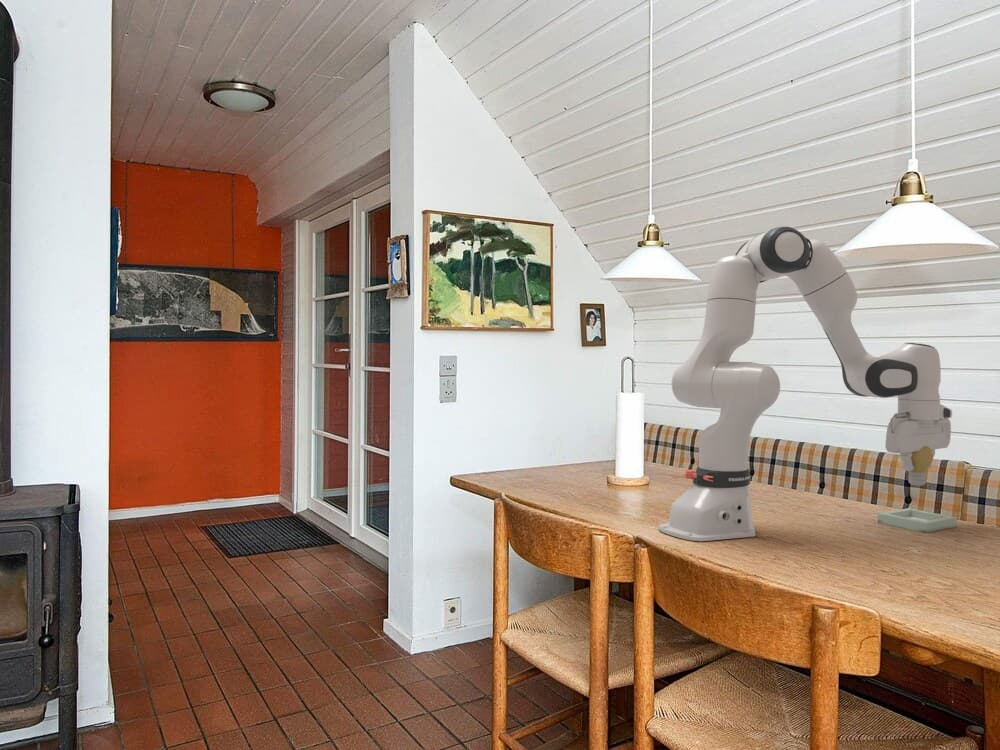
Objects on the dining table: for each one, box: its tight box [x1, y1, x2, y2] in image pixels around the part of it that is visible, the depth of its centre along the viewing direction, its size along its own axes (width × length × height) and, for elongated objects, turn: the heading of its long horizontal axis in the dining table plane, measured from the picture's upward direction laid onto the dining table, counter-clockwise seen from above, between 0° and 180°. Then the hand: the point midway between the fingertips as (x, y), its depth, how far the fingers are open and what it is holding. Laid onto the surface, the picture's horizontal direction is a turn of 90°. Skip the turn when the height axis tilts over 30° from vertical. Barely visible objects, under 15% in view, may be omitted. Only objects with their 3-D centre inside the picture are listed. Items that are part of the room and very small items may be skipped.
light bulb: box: [908, 446, 934, 487], centre depth 184 cm, size 6×6×10 cm
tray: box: [877, 507, 958, 534], centre depth 184 cm, size 12×12×2 cm
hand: (917, 469), depth 184 cm, fingers closed on light bulb, 5 cm apart
